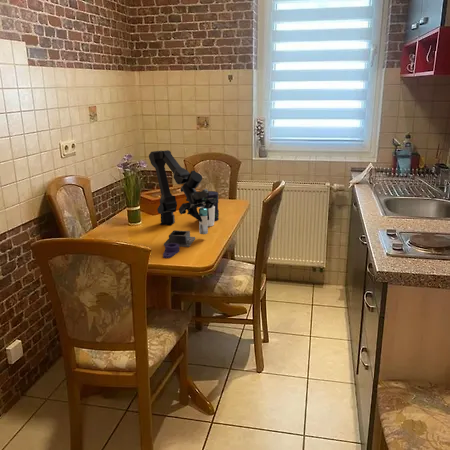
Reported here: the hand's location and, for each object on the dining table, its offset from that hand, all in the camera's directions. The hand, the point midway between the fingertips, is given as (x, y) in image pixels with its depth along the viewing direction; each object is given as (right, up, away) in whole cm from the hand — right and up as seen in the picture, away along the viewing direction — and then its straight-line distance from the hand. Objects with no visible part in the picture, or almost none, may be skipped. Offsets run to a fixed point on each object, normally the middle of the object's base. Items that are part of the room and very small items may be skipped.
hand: (205, 220), depth 218 cm
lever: (-15, -15, -15) cm, 26 cm away
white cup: (0, -2, +26) cm, 26 cm away
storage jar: (+1, +1, +36) cm, 36 cm away
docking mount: (-12, -10, -1) cm, 16 cm away
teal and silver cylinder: (-1, -6, +3) cm, 7 cm away
